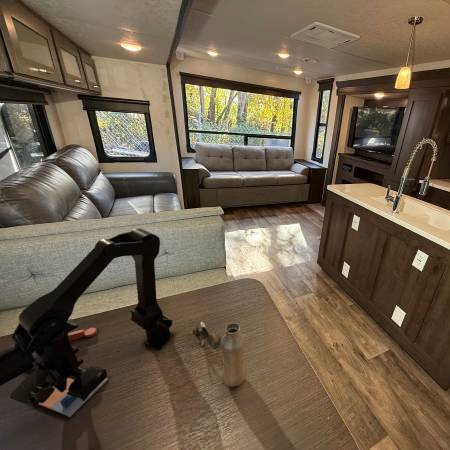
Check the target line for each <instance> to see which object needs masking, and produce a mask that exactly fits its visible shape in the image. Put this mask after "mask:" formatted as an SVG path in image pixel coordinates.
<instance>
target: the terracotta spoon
mask: <svg viewBox="0 0 450 450" xmlns="http://www.w3.org/2000/svg"><path fill="white" fill-rule="evenodd" d="M97 333H98V331H97V328H96V327H89V328H87V329H86V330H85V329H84V328H83V329H80V330H75V331H70V332H68V334H69V337H70V340H71V341H75V340H78V339H82V338H87V339H88V338H92V337H94V336H95V335H97Z"/></svg>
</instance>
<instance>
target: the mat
mask: <svg viewBox="0 0 450 450" xmlns="http://www.w3.org/2000/svg"><path fill="white" fill-rule="evenodd" d="M73 381H74V380H73V379H70V378H67V388H66V390H65V391H64V392H62V393H61V392H60V391H58V390H57V389H56V388H55V390H54V392H53V393H52V394H51V396H50V397H49V398H48V399H47V400H46V401H45V402H44V403H39V404H38V405H39V406H41V407H44V408H46V409H49V410H50V411H53V412H56V413H58V414H61V415H64V416H66V417H68V418H71V417H72V416H73V415H74V414H75V413H76V412H77V411H78V410H79V409H80V408H81V407H82V406H83V405H84V404H86V402H87V401H88V400H89V399H90V398H91V397H92V396H93V395H95V393H96V392H98V391H99V390H100V388H101V387H103V386H104V385H105V383H106V382H107V381H109V378H108V377H107V378H106V379H105V380H104V381H103V382H102V383H101V384H99V385H98V386H97V387H96V388H95V389H94V390H93V391H92V392H91V393H90V394H89V395H88V397H87V398H86V399H85V400H84V401H82V400H81V399H80V398H77V399H76V400H75V401H74V402H73V403H72V404H71V405H69V406H68V407H67V408H64V407H62V405H61V402H60V401H61V400H62V399H64V398H65V397H66V396H67V395H68V394H66V393H67V392H69V391H68V388H69V386H70V384H71V383H72V382H73ZM53 388H54V387H53Z"/></svg>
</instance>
